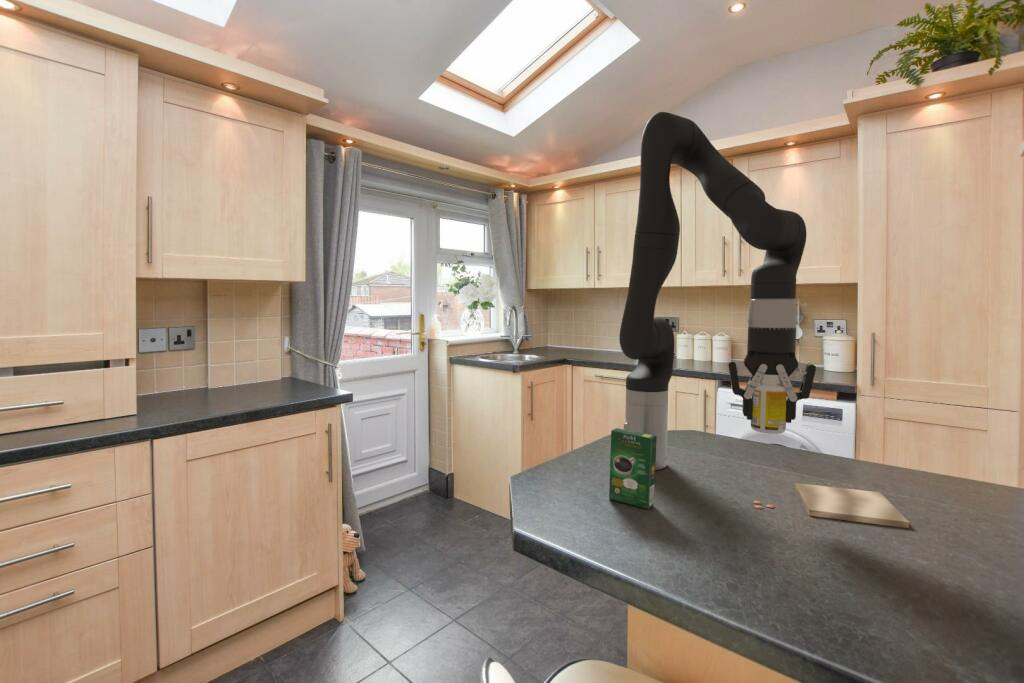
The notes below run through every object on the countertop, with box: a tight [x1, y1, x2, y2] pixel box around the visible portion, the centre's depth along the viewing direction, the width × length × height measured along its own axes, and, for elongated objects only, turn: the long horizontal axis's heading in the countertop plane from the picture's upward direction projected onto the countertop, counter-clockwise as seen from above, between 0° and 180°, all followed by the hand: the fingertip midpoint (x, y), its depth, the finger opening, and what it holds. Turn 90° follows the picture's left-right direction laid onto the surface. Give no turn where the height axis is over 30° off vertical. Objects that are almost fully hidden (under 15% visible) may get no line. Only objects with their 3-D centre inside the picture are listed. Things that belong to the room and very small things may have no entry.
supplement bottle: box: [750, 374, 787, 435], centre depth 88 cm, size 6×6×10 cm
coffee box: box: [608, 427, 657, 510], centre depth 90 cm, size 8×3×13 cm, turn 52°
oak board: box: [794, 482, 910, 529], centre depth 89 cm, size 14×14×1 cm
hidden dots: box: [752, 500, 776, 510], centre depth 89 cm, size 3×4×1 cm
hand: (768, 420), depth 88 cm, fingers closed on supplement bottle, 5 cm apart
